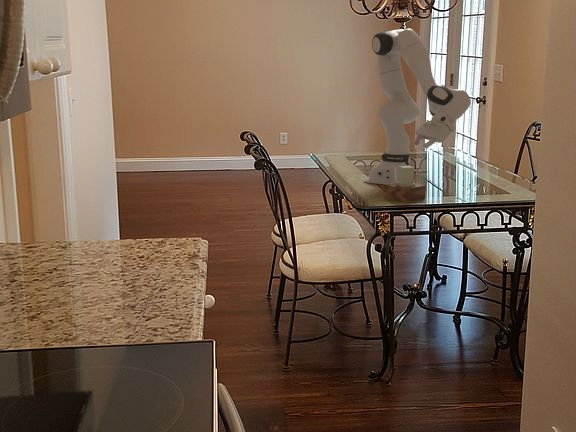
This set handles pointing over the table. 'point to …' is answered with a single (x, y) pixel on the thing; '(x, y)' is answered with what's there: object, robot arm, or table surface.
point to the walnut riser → (405, 192)
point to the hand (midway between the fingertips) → (419, 145)
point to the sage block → (405, 176)
